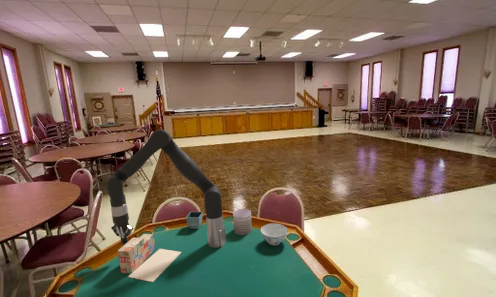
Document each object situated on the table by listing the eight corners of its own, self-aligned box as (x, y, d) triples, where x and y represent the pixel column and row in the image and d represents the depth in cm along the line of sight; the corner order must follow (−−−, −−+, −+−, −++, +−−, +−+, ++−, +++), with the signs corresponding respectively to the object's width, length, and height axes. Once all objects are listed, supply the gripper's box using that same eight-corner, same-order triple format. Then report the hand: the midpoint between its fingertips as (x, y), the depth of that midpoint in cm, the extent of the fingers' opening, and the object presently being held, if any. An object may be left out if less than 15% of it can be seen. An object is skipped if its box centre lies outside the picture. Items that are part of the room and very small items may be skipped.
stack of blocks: (145, 248, 146) (143, 228, 143) (155, 249, 144) (153, 229, 142) (120, 273, 125) (117, 250, 123) (132, 274, 124) (128, 251, 122)
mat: (181, 252, 140) (181, 252, 140) (152, 282, 117) (152, 281, 117) (159, 249, 144) (159, 248, 144) (128, 277, 122) (128, 276, 121)
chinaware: (285, 234, 153) (284, 222, 152) (289, 248, 138) (289, 235, 137) (260, 236, 153) (259, 224, 151) (262, 250, 138) (261, 237, 137)
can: (255, 229, 161) (254, 211, 159) (243, 237, 153) (242, 218, 151) (242, 224, 169) (241, 207, 167) (230, 231, 160) (229, 213, 158)
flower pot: (191, 224, 173) (190, 211, 171) (203, 224, 172) (202, 211, 170) (186, 230, 164) (185, 217, 162) (200, 230, 163) (199, 217, 162)
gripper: (135, 210, 133) (139, 241, 136) (115, 208, 137) (120, 238, 141) (124, 217, 126) (129, 249, 129) (104, 214, 130) (109, 245, 134)
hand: (124, 243), depth 135 cm, fingers closed
